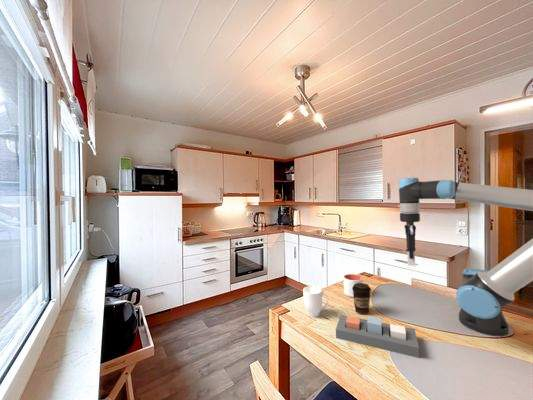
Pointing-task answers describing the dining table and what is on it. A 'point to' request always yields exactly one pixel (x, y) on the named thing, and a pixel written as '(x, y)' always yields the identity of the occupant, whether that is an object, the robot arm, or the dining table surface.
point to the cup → (351, 283)
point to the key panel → (379, 337)
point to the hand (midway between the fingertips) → (411, 265)
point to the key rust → (353, 323)
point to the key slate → (374, 325)
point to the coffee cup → (361, 298)
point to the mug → (313, 300)
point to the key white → (397, 332)
